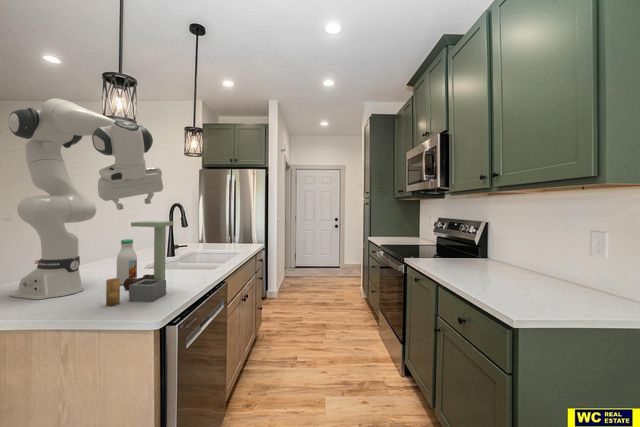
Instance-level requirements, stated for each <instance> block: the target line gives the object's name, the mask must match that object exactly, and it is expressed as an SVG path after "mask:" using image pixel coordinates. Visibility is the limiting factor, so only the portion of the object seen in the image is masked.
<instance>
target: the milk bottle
mask: <svg viewBox="0 0 640 427" xmlns="http://www.w3.org/2000/svg"><path fill="white" fill-rule="evenodd" d="M120 245H121V247H120V250H119V252H118V254H117V257H116V278H119V279H120V286H124V281H125V280H126V279H127V278H135V279H138V257H137V254H136V251H135V249H134V247H133V245H134V239H132V238H131V239H128V238H126V239H121V240H120Z"/></svg>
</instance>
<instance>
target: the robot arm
mask: <svg viewBox="0 0 640 427" xmlns="http://www.w3.org/2000/svg"><path fill="white" fill-rule="evenodd" d="M8 128H9V130H10V131H11V133H12V134H13V135H14V136H16V137H19V138H22V139H27V140H28V141H26V144H25V146H24V147H25V148H24V150H25V151H24V152H25V160H26V164H27V167H28V170H29V174H30V177H31V181H32V183H33V185H34V186H35V187H36V188H38V189H39V190H42V191H44V192H45V193H47V194H48V195H46V194H44V195H43V194H42V195H41V194H40V195H33V196H26V197H24V198H22V199H21V200H20V202H19V203H18V205H17V207H16V208H17V209H16V210H17V214H18V216H19V218H20V219H21V220H22V221H23V222H25V223H27V224H28V225H30V226H31V227H32V228H33V229H34V230H35V231H36V233H37V235H38V237H39V240H40V241H39V242H40V249H41V250H40V251H41V258H40V259H38V260H35V261H34V265H35V264H37V265H36V269H34V270H33V271H31V272H29V273H28V274H27V275H25V276H24V277H22V278H21V279H20V281H19V285H18V290H15V291H12V292H11V293H9V296H10V297H14V298H21V299H29V300H30V299H31V300H43V299H49V298H55V297H56V298H57V297H62V296H68V295H72V294H76V293H80V292H82V291H83V290H84V286H83V284H82V280H81V274H80V265H81V264H80V263H81V260H80V255H79V238H78V236H77V235H75V234H74V233H71V232H69V231H68V230H67V228H66V227H65V226H66V225H65V224H69V223H70V224H71V223H74V224H75V223H81V222H86V221H90V220H92V219H94V217H95V216H96V213H97V206H96V203H95V202H94V201H93V200H92V199H91V198H88V197H87V196H86V195H84V194H83V193H81V191H80V190H79V189H78V188H77V187H76V186H75V184H74V183H73V182H72V179H71V178H70V176H69V173H68V170H67V167H66V163H65V161H64V160H65V159H64V158H63V156H62V155H63V154H62V152H61V151H62V150H61V149H62V147H64V148H66V149H69V148H71V147H72V146H73V145H76V144H78V143H79V142H80V141H81V140H82V138H83V137H86V136H88V137H89V136H91V141H92V144H93V147H94V149H95V150H96V151H97V152H98V153H99V154H102V155H104V156H108V157H109V156H113V157H114V163H113V164H111V165H108V166H106V167H104V168H100V169H99V170H98V173H99V176H100V177H99V179H98V181H97V194H98V197H99V198H100V199H101V200H102V201H105V202H109V201H112V202H113V203H114V204H115V206H116V210H118V211H121V210H124V205H123V204H122V203H121V202H119V201H120V199H125V198H126V199H127V198H130V197H131V198H132V197H136V196H142V195H147V196H146V198H144V199H143V200H144V204H146V205H149V204H152V199H153V197H154V196H155V195H154V193H159V192H162V191H163V190H164V184H163V179H162V175H163V174H162V170H161V169H160V168H158V167H148V168H147V167H146V160H145V157H144V156H145V155H144V154H145V153H148V152H149V150H150V149H151V148H152V145H153V143H154V140H153V134H152V133H151V132H150V131H149V130H148V129H147V128H146V127H145V126H143V125H140V124H137V123H135V122H134V121H129V120H117V119H115V118H112V117H110V116H107V115H103V114H101V113H98V112H96V111H92V110H90V109H88V108H85V107H83V106H80V105H78V104H76V103H74V102H72V101H70V100H66V99H62V98H50V99H48V100H45V101H44V103H43V104H42V108H41V109H39V110H36V109H34V108H32V107H28V108H25V109H15V111H12V112H11V113H9V116H8Z"/></svg>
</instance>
